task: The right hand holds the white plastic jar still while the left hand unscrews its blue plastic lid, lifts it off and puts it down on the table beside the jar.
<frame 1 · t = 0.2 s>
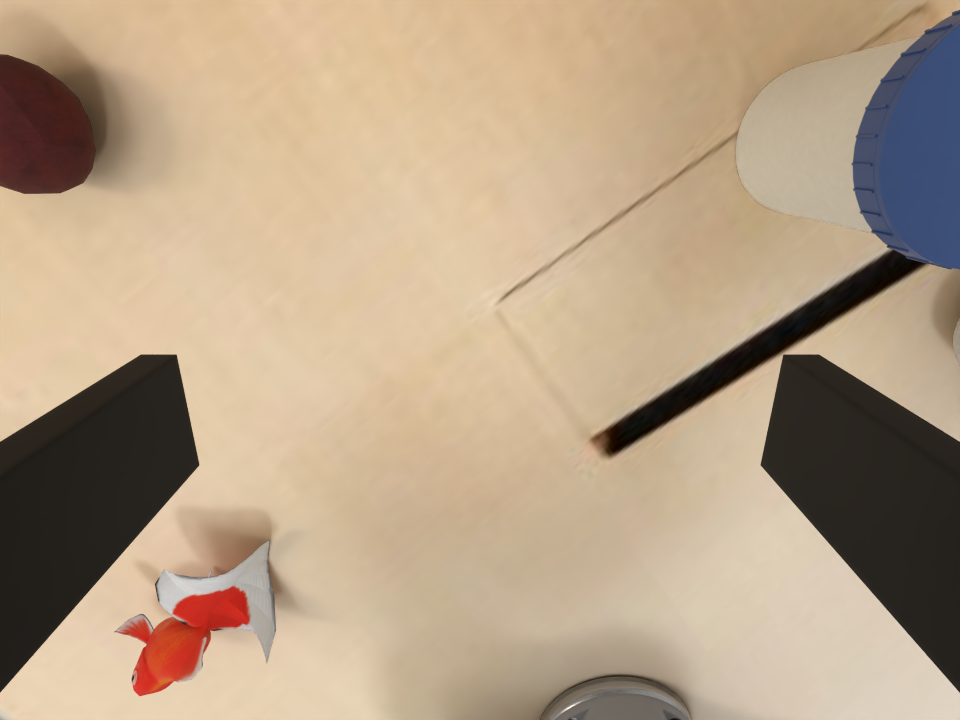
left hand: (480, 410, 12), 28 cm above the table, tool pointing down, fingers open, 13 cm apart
dark red ball: (63, 130, 36), on the table
jar: (806, 141, 37), on the table
fish: (222, 579, 49), on the table
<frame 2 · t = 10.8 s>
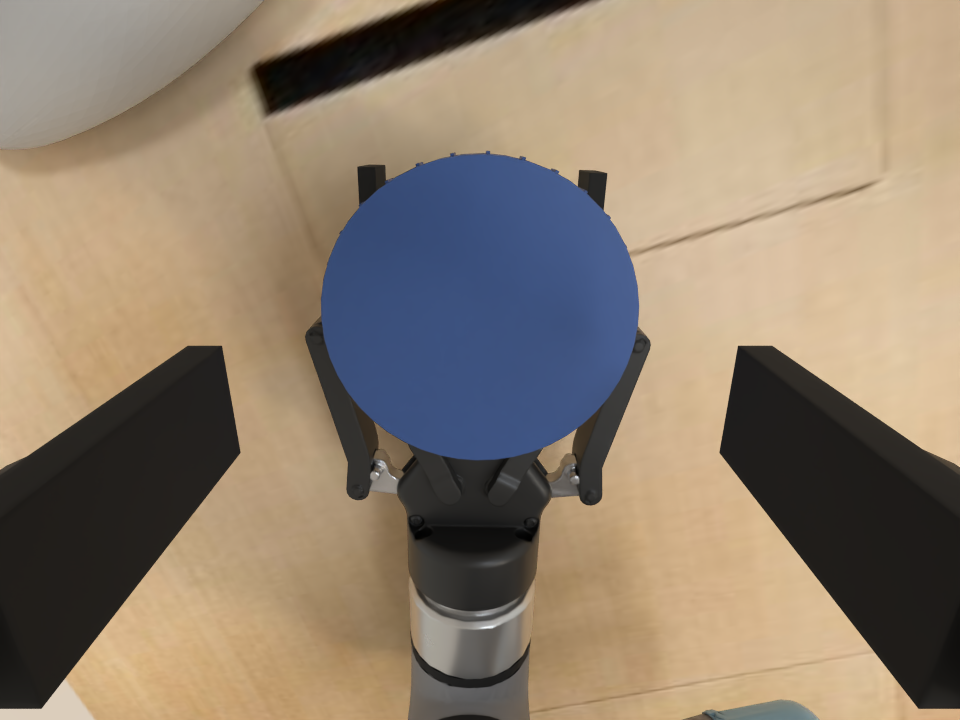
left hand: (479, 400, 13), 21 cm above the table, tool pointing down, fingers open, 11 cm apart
right hand: (482, 168, 25), fingers closed on jar, 9 cm apart
lid: (479, 319, 19), point 15 cm above the table, screwed on, not yet turned
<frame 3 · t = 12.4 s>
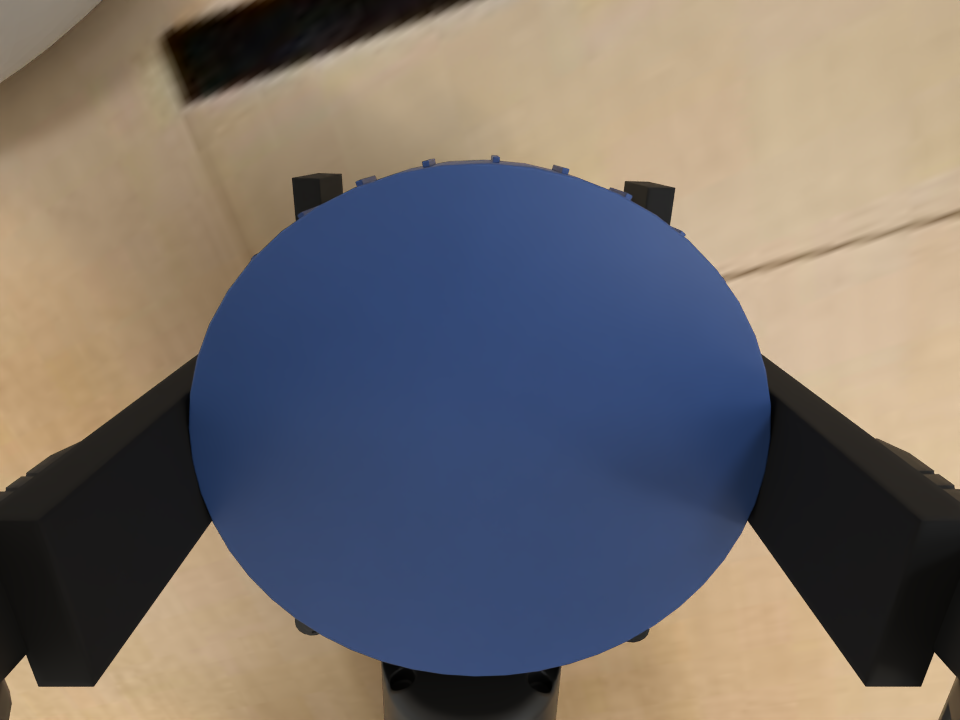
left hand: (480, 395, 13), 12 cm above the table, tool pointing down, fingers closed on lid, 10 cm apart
lid: (479, 457, 11), point 15 cm above the table, screwed on, not yet turned, touching left hand
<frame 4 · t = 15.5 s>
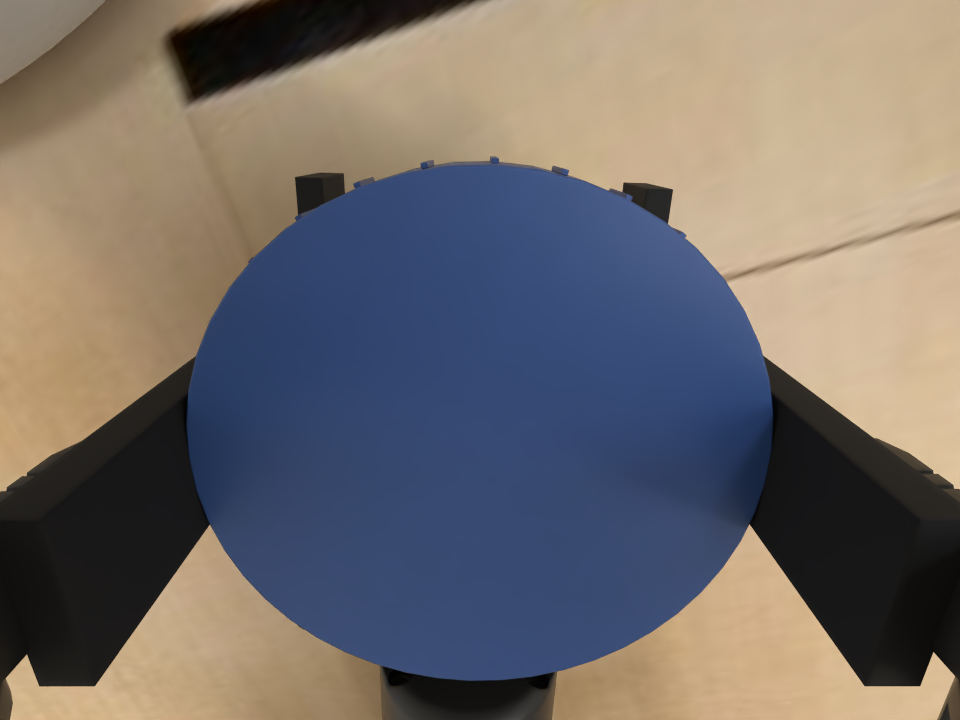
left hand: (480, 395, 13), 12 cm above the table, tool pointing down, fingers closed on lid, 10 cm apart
lid: (479, 460, 10), point 15 cm above the table, turned 97° so far, risen 0.3 cm, still on its thread, touching left hand
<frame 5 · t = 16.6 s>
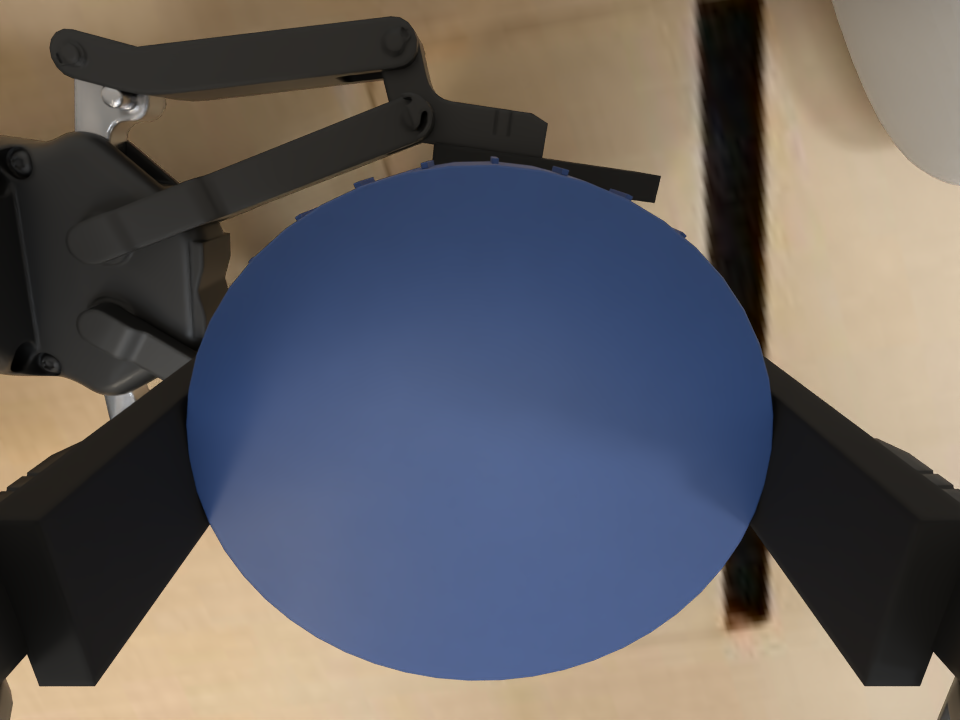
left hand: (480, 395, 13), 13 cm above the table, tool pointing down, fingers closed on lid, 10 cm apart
right hand: (609, 336, 19), fingers closed on jar, 9 cm apart
lid: (479, 460, 10), point 16 cm above the table, off its thread, touching left hand
when the left hand's fingers open (0 cm above the table, at t = 22.7 s): lid drops 2 cm, point 1 cm above the table.
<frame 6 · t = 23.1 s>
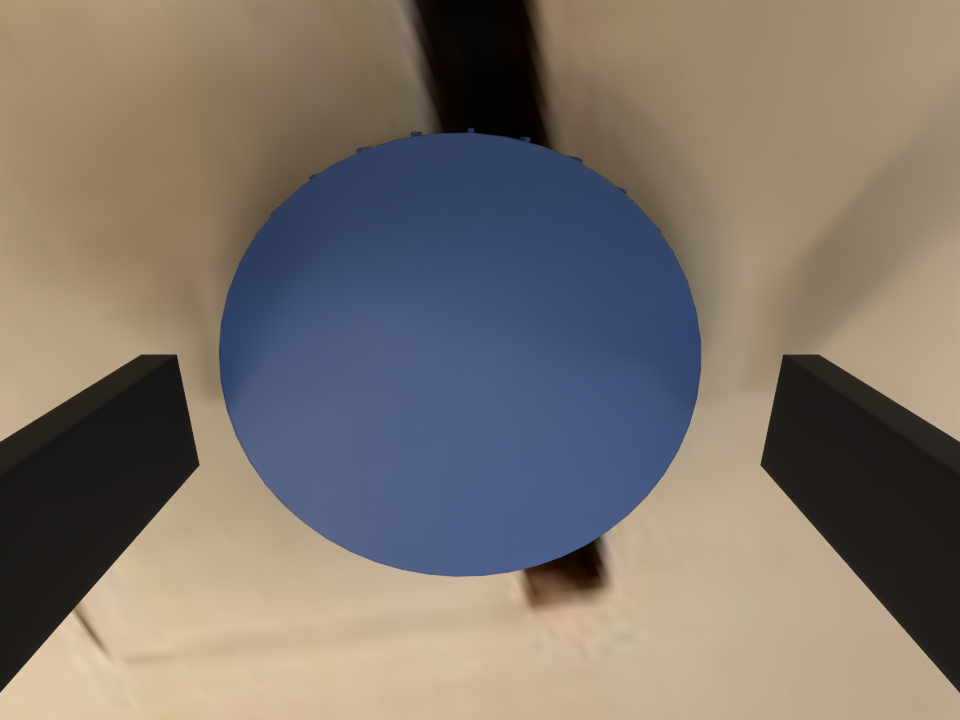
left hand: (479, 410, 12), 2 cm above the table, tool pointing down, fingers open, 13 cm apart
lid: (461, 383, 13), point 1 cm above the table, off its thread
when the right hand's fingers open (7 cm above the table, at t = 23.7 s): jar stays where it is, on the table.
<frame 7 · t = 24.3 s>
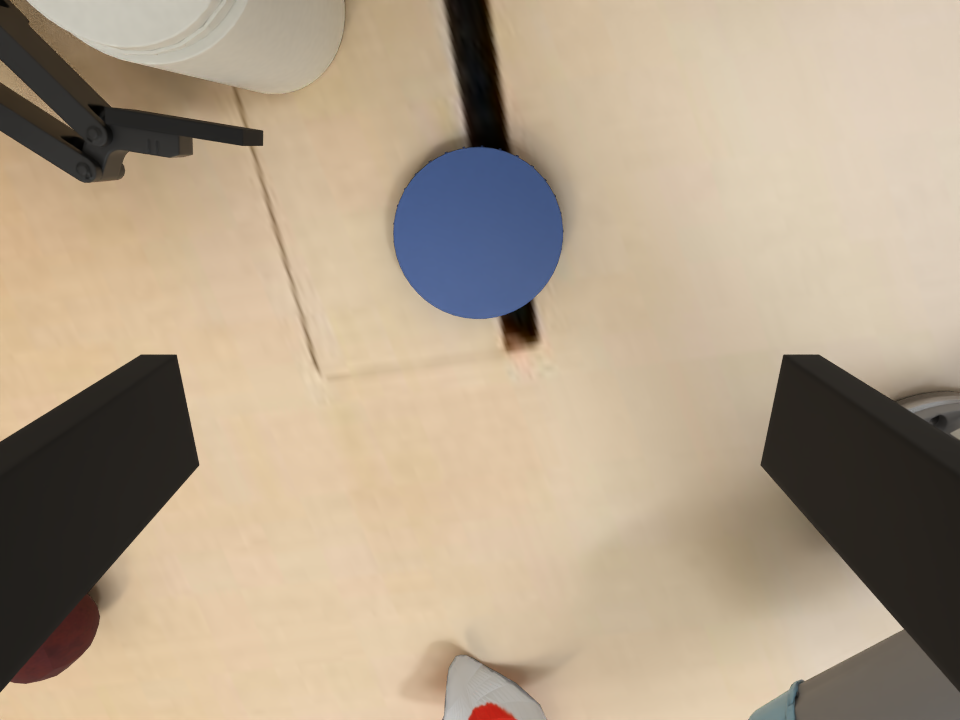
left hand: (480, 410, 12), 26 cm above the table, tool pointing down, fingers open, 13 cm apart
dark red ball: (72, 595, 47), on the table
jar: (264, 5, 32), on the table
fish: (483, 701, 52), on the table
lid: (478, 236, 35), point 1 cm above the table, off its thread
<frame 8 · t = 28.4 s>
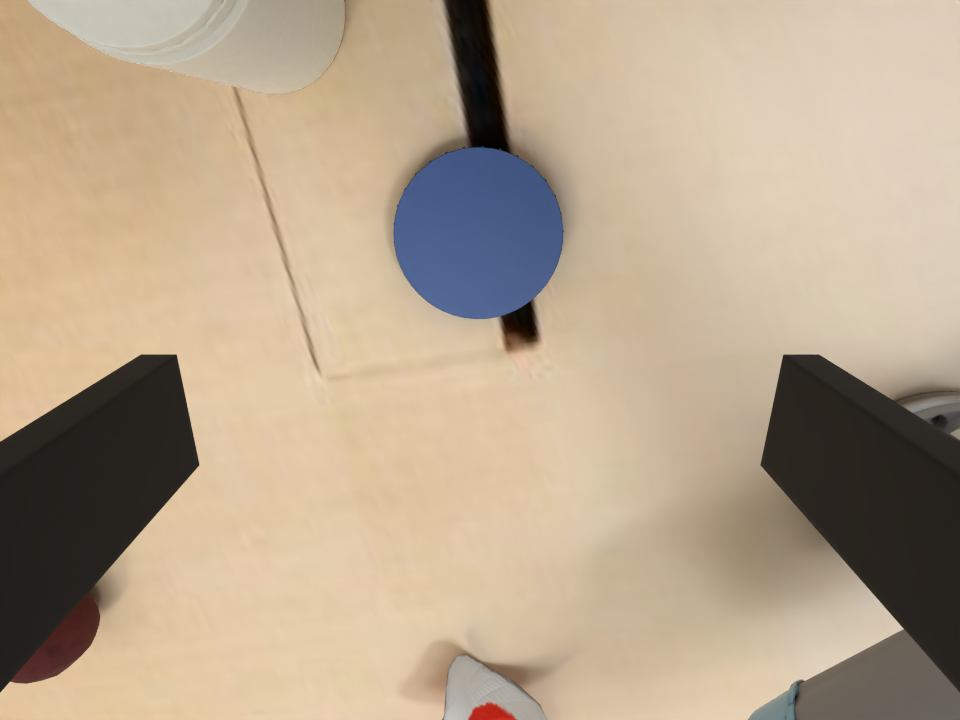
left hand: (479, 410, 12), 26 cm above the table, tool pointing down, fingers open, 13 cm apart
dark red ball: (73, 595, 47), on the table
jar: (264, 5, 32), on the table
fish: (483, 701, 52), on the table
lid: (478, 236, 35), point 1 cm above the table, off its thread
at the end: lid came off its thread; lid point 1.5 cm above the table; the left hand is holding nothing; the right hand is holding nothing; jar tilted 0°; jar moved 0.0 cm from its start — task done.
